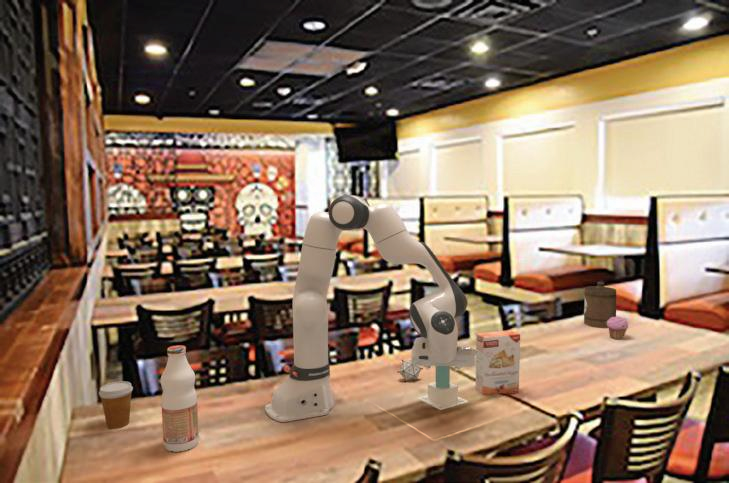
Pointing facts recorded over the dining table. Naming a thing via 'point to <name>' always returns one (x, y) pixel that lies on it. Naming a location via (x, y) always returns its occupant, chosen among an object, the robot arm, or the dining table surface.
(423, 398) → the baseplate
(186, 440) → the fruit juice
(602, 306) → the wooden container
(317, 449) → the dining table surface
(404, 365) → the game die
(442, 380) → the teal brick
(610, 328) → the cupcake
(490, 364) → the cracker box
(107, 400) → the disposable coffee cup
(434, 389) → the cream brick
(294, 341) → the robot arm
